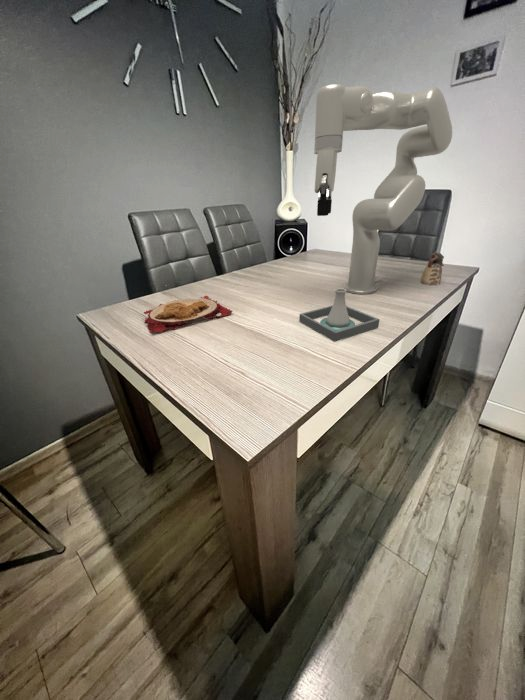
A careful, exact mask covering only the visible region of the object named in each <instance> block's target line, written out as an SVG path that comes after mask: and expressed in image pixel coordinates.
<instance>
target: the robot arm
mask: <svg viewBox="0 0 525 700" xmlns="http://www.w3.org/2000/svg"><path fill="white" fill-rule="evenodd" d="M315 99H316V100H315V101H316V102H315V131H314V153H313V154H314V155H317V157H316V166H315V180H314V193H316V194H318V200H317V206H316V207H317V210H316V215H317V216H318V217H321V216H322V217H325V216H328V215H329V214H331V213H332V205H333V204H332V201H333V200H332V192H333V191H334V189H335V180H336V171H337V160H338V159H337V158H338V154H339V153H342V150H343V139H344V138H343V137H344V132H345V131H346V132H349V131H352V132H353V131H373V130H396V131H397V130H398V131H399V130H400V131H401V130H408V129H410V130H408V131H406V132H404V133H403V134H402V135H401V136H400V138H399V140H398V141H397V144H396V145H397V146H396V155H395V166H394V167H393V169H391V171H390V172H389V174H388V175H387V176H386V177H385V178H384V179H383V181H381V182H380V184H379V185H378V186H377V188H376V189H375V191H374V193H373V198H366V199H363V200H361V201H359V202H358V203H357V204H356V205H355V207H354V208H353V211H352V217H351V218H352V231H353V232H352V233H353V235H352V245H351V256H350V264H349V272H348V283H346V284H344V285H343V289H346V290H347V291H346V293H350V294H357V295H368V294H373V293H376V292H377V291H378V286H377V285H376V284H377V283H380V282H382V281H383V277H381V276H378V277H376V269H377V265H378V259H379V258H378V257H379V253H380V252H379V251H380V247H381V239H380V238H381V237H380V235H379V232H378V231H394V230H396V229H398V228H399V227H401V226H402V225H403V223H404V222H405V221H406V220H407V219H408V218H409V217H410V215H411V214H412V213H413V212H414V211H415V210H416V209H417V207H418V206H419V204H420V203H421V202H422V200H423V197H424V195H425V191H426V180H425V179H424V177H422V175H419V174H418V170H417V166H416V164H415V163H416V162H415V159H416V158H423V157H429V156H435V155H439V154H442V153H444V152H445V151H446V150H447V149H448V147H450V144H451V142H452V139H453V125H452V120H451V118H450V117H451V116H450V114H449V113H450V112H449V109H448V105H447V101H446V99H445V97H444V94H443V92H442V91H441V90H440V89H439V87H436V86H433V87H428V88H426V89H423V90H419V91H417V92H413V93H405V92H404V93H403V92H396V91H391V90H390V91H388V90H387V91H382V92H381V91H380V92H377V93H372V90H370V89H369V88H368V87H367V86H364V85H357V86H356V85H355V86H344V85H343V84H339V83H332V84H326V85H324V86H322V87H320V88H319V89H318V91H317V93H316V98H315ZM419 126H420V127H419ZM411 128H412V129H411Z"/></svg>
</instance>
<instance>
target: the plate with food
mask: <svg viewBox="0 0 525 700" xmlns="http://www.w3.org/2000/svg"><path fill="white" fill-rule="evenodd" d="M201 298H202V299H201ZM218 313H219V314H221V315H217V314H218ZM232 313H233V310H232V309H229V308H227V307H226V306H223V305H221V304H220V303H219V302H218V300H212V298H209V296H208V295H204V296H203V297H202V296H201V297H200V298H185V299H178V300H173V301H169V302H165V303H160V304H159V305H158V306H156V307H155V308H153V309H149V310H146V311H144V312H143V314H144V315H147V316H148V317H145V318H144V323H145V324H147V325H146V326H147V329H148V330H149V331H150V333H159V332H160V333H163V331H167V330H172V331H175V330H177V329H178V328H180V327H185V326H188V325H195V324H196V322H190V321H192V320H195V319H199V318H203V320H202V321H201V323H203V322H208V321H215V320H217V319H218V318H221V317H224V316H228V315H230V314H232ZM187 322H189V323H187Z"/></svg>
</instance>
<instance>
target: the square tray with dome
mask: <svg viewBox="0 0 525 700" xmlns="http://www.w3.org/2000/svg"><path fill="white" fill-rule="evenodd" d="M332 306H333V304H332V305H329V306H325V307H322V308H318V309H313V310H310V311H306V312H303V313H299V319H298V320H299V323H301V324H302V325H304V326H306V327H308V328H310V329H312V330H313V331H315V332H317V333H319V334H320V335H322V336H324V337H325V338H327V339H329V340H331V341H332V342H339V341H341V340H345V339H347V338H350V337H353V336H357V335H360V334H362V333H366V332H368V331H372V330H375V329H377V328H379V325H380V318H377V317H375V316H373V315H370V314H368V313H365V312H362V311H361V310H358V309H356V308H355V309H354V308H352V307H350V306H348V305H346V308H347V312H348V316H349V318H352V319H354V320H357V321H359V322H360V323H359V324H356V323H355V321H354V320H352V319H350V325H349V326H344V327H334V326H329V325H328V324H327V323H325V322H326V319H327V317H325V316H328V315H329V313H330V311H331V308H332ZM321 317H325V318H323V319H321V320H320V321H317V320H315V319H319V318H321Z"/></svg>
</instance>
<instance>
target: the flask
mask: <svg viewBox="0 0 525 700" xmlns="http://www.w3.org/2000/svg"><path fill="white" fill-rule="evenodd" d="M334 293H335V297H334V302H333V303H332V305H333V306H332V305H331V306H332V308H331V311H330V313H329V315H327V317H326V318H327V319H326V322H325V323H327V324H328V325H329V326H334V327H344V326H349V325H350V320H351V318H350V316H348V312H347V308H346V306H347V305H346V293H347V290H346V289H344V287H343V288H340V287H338V288H335V289H334Z"/></svg>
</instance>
